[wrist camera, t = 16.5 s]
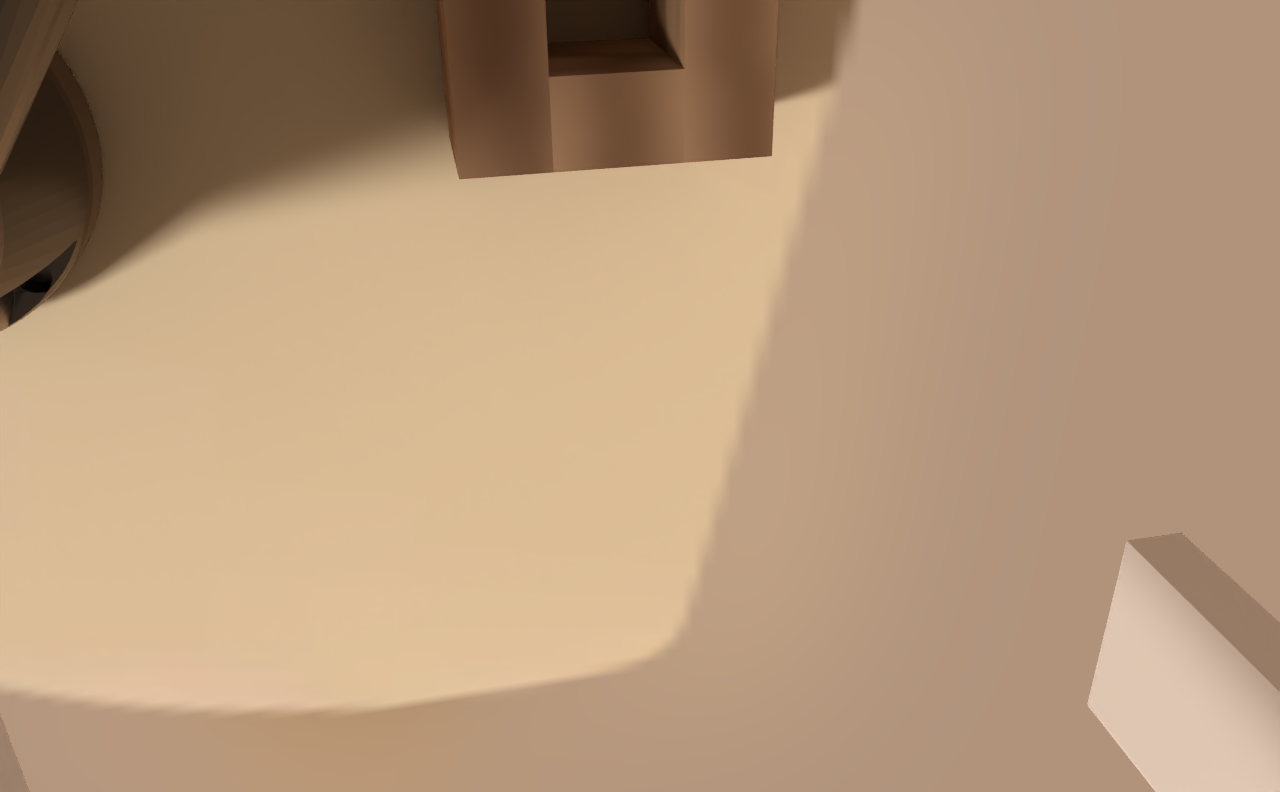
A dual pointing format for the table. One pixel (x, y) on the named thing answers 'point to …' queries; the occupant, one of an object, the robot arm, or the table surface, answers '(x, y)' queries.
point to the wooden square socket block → (607, 88)
